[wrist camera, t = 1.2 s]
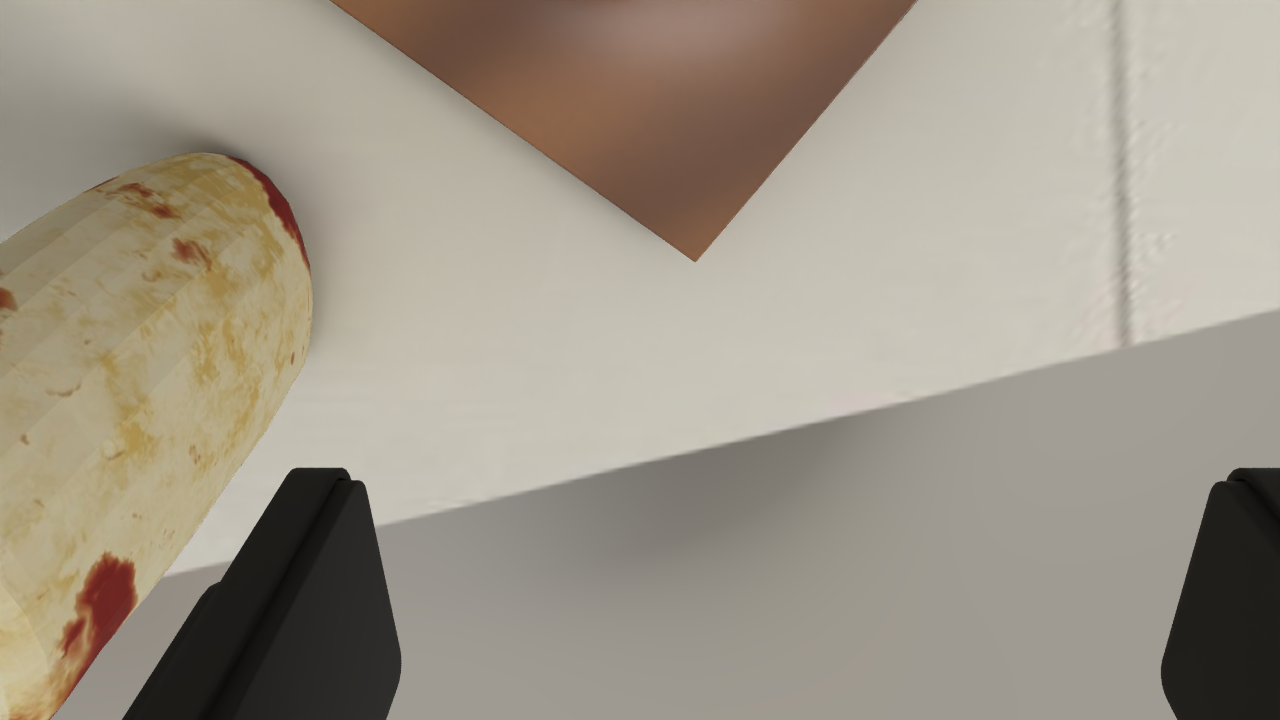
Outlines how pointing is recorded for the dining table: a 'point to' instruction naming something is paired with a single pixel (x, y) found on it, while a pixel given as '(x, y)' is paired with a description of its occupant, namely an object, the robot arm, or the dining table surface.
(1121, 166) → the dining table surface
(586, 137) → the cutting board
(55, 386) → the food model
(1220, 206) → the dining table surface
